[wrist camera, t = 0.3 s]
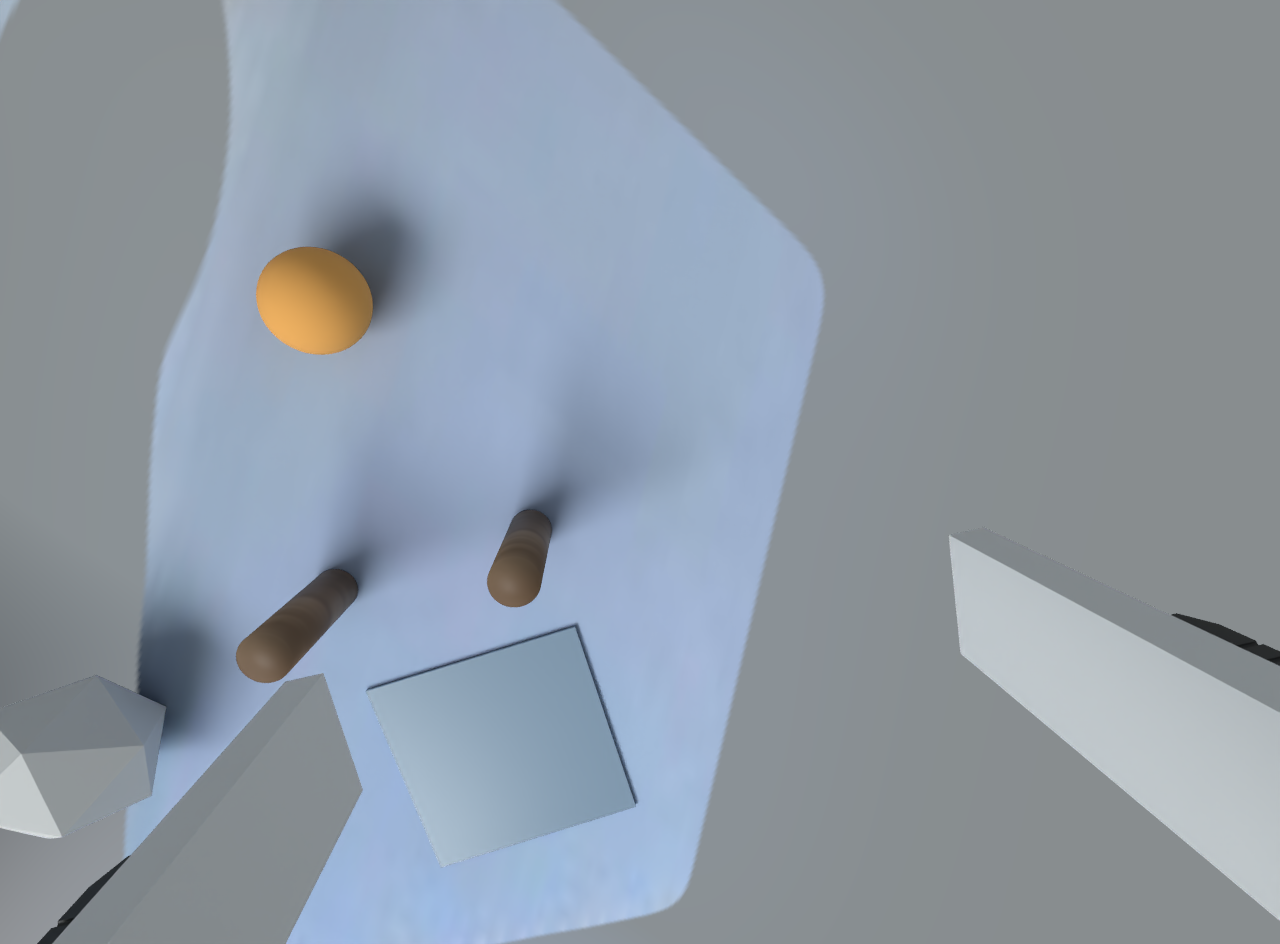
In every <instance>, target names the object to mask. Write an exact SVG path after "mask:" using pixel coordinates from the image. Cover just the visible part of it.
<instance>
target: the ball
mask: <svg viewBox="0 0 1280 944" xmlns="http://www.w3.org/2000/svg"><path fill="white" fill-rule="evenodd" d="M256 298H257V305H258V309H259V312H260V315H261V317H262V319H263V321H264V323H265V324H266V326H267V327H268V328H269V330H270V331H271V332H272V333H273V334H274V335H275V336H276V337H277V338H278V339H279V340H281V341H282V342H283V343H285V344H286V345H288V346H290V347H292V348H294V349H297V350H299V351H302V352H305V353H310V354H321V355H324V354H332V353H337V352H340V351H343V350H345V349H347V348H349V347H351V346H352V345H354V344H355V343H356V342H358V341H359V340H360V339H361V338H362V336H363V335H364V334H365V332H366V331H367V329H368V327H369V324H370V322H371V318H372V312H373V301H372V295H371V292H370V288H369V286H368V284H367V282H366V280H365V278H364V277H363V275H362V274H361V273H360V272H359V270H358V269H357V268H356V267H355V266H354V265H353V264H352V263H351V262H349V261H348V260H347V259H345V258H344V257H342V256H340V255H338V254H336V253H334V252H332V251H329V250H326V249H322V248H316V247H299V248H294V249H290V250H287V251H285V252H283V253H281V254H279V255H277V256H276V257H275V258H273V259H272V260H271V261H270V262H269V263H268V264H267V265H266V266H265V268H264V269H263V271H262V273H261V275H260V277H259V280H258V284H257V291H256Z"/></svg>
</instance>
